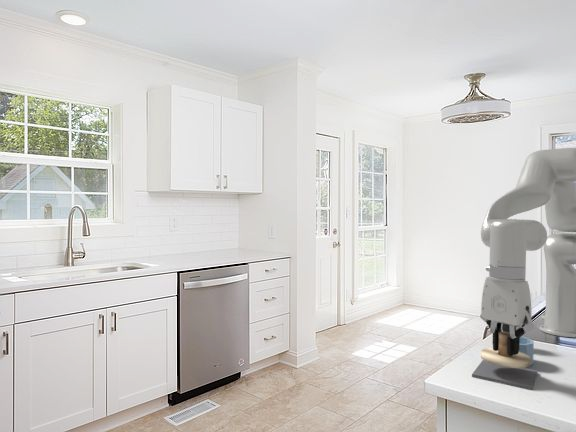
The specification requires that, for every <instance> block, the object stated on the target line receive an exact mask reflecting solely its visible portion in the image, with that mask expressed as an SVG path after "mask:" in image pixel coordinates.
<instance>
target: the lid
mask: <svg viewBox="0 0 576 432" xmlns="http://www.w3.org/2000/svg"><path fill="white" fill-rule="evenodd" d="M509 337H510V333H509V332H503V331H502V332H499V337H498V351H494V350H493V347H487V348H482V349H481V350H480V358H481V360H484V361H486V362H489V363H491V364H494V365H498V366H503V367H510V368H529V367H531V366H530V365H531V358H530V357H529V356H528V355H526V354H524V353H522V352H518V354H516V355H511V356H510V355H508V354H507V340H508V338H509ZM528 366H529V367H528Z"/></svg>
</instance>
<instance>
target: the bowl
mask: <svg viewBox="0 0 576 432" xmlns="http://www.w3.org/2000/svg"><path fill="white" fill-rule="evenodd" d="M534 349H535V342H534V340H533V339H531V338H528V337H525V336H522V337H520V340H519V352H522V353H524V354H526V355H528V356H529V357H530V358H531V365H530V366H529V367H532V366H533V365H534V353H535V352H534V351H535V350H534Z"/></svg>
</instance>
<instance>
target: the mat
mask: <svg viewBox="0 0 576 432" xmlns="http://www.w3.org/2000/svg"><path fill="white" fill-rule="evenodd" d="M537 375H538V370H536V369H531V368H528V367H525V368H510V367H503V366H498V365H494V364H491V363H489V362H486V361H484V360H483V359H481V361H480V363H479V365H477V367H476V369H475V370H474V371H473V373H471V377H472V378H476V379H480V380H486V381H489V382H494V383H499V384H503V385H508V386H512V387H518V388H522V389H527V390H530V391H531V390H533V387H534V384H535V382H536V378H537Z"/></svg>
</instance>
